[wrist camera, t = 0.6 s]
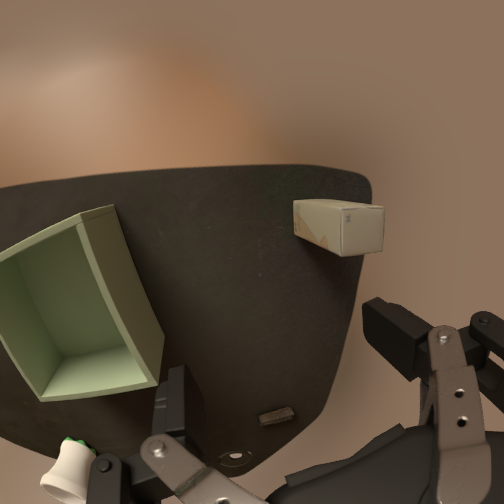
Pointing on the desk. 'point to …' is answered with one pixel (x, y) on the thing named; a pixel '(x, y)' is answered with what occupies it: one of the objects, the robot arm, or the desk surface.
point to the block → (276, 416)
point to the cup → (70, 473)
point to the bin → (78, 311)
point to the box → (340, 225)
